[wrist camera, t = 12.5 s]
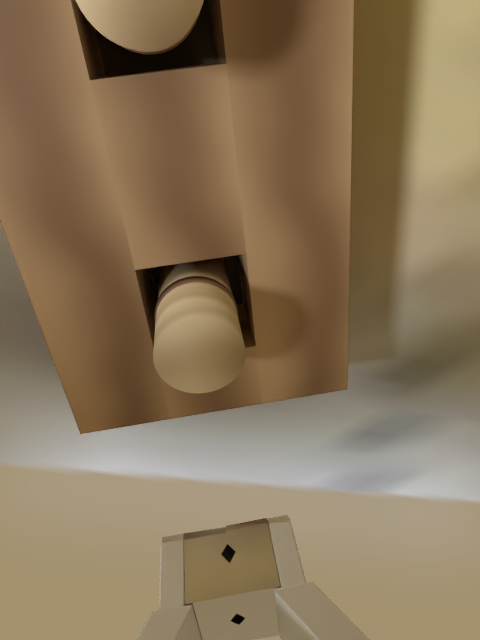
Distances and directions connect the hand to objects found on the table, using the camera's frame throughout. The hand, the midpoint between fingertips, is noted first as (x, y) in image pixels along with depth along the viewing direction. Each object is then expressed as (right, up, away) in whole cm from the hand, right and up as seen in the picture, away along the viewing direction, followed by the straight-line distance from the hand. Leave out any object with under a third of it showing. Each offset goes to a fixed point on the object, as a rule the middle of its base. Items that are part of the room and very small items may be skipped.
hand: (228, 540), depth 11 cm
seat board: (-3, +13, +11) cm, 17 cm away
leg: (-2, +8, +14) cm, 16 cm away
